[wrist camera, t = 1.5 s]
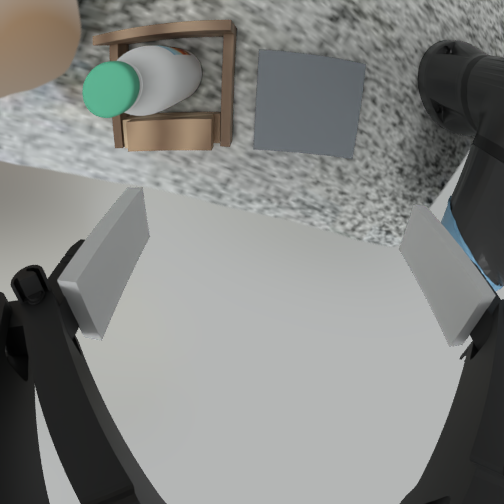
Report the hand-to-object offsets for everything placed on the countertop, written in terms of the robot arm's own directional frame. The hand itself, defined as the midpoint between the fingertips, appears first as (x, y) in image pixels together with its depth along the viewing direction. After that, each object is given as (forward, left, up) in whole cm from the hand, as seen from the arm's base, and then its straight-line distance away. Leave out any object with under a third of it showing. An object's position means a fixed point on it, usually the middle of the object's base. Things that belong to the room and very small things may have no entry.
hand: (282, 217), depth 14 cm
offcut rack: (+13, -4, -29) cm, 32 cm away
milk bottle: (+13, -5, -29) cm, 32 cm away
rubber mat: (-5, -2, -29) cm, 29 cm away
